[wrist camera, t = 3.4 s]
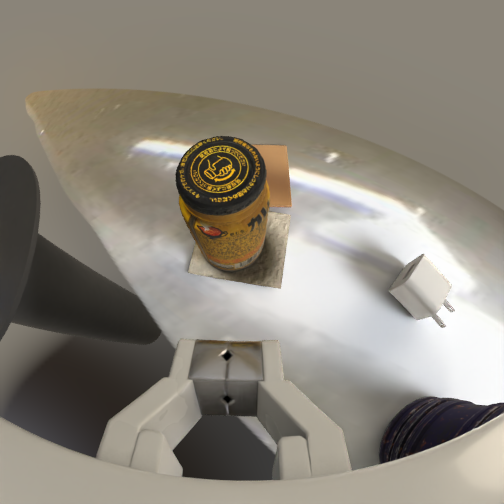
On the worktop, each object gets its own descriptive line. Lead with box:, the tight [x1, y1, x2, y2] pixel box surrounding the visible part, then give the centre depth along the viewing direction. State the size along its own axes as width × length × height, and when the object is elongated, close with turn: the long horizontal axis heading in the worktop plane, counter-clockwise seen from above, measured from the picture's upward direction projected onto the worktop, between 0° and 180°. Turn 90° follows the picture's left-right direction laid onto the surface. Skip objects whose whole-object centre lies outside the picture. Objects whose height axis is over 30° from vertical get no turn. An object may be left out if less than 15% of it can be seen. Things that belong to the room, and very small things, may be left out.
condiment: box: [176, 136, 291, 289], centre depth 21 cm, size 7×8×12 cm
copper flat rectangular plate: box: [252, 145, 292, 207], centre depth 29 cm, size 8×10×1 cm
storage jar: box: [379, 397, 504, 464], centre depth 13 cm, size 10×10×15 cm
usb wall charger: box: [389, 254, 455, 328], centre depth 23 cm, size 4×7×4 cm, turn 45°
